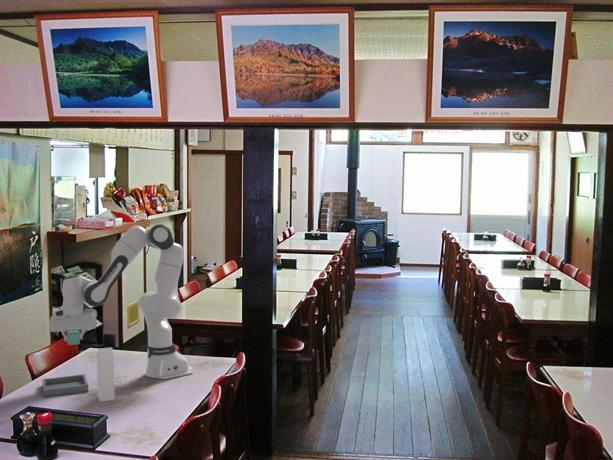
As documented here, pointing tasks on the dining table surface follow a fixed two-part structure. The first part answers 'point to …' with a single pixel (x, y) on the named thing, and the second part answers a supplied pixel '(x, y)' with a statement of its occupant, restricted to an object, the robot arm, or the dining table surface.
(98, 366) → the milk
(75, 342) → the block
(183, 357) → the robot arm
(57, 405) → the dining table surface
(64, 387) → the tray
